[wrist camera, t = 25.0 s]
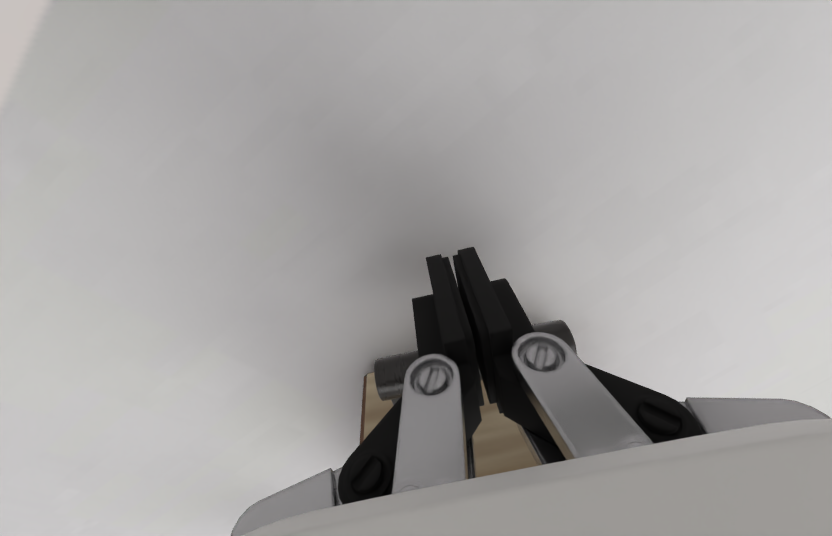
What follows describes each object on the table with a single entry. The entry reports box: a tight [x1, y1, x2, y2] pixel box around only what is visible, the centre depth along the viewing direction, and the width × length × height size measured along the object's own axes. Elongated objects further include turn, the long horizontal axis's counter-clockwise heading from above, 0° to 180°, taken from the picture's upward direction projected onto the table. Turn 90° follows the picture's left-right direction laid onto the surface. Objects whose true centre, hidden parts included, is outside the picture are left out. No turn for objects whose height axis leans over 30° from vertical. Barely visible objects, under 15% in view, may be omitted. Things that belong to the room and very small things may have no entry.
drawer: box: [364, 320, 576, 477], centre depth 17 cm, size 19×11×8 cm, turn 12°
